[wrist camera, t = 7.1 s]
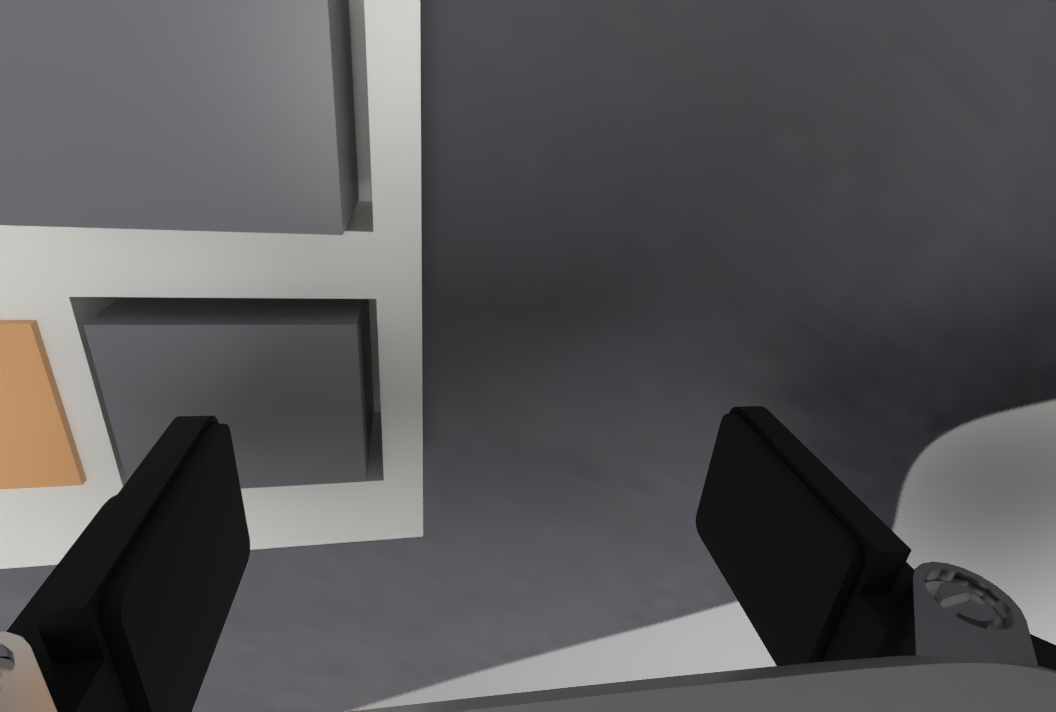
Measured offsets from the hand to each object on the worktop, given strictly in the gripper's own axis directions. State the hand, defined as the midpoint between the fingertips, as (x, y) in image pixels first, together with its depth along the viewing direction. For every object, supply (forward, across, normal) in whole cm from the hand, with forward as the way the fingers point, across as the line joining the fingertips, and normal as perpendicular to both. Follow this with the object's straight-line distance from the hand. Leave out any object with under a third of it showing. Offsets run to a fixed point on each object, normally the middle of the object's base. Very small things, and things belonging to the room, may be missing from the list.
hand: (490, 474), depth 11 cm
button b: (+5, +5, -6) cm, 10 cm away
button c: (+6, +5, 0) cm, 8 cm away
